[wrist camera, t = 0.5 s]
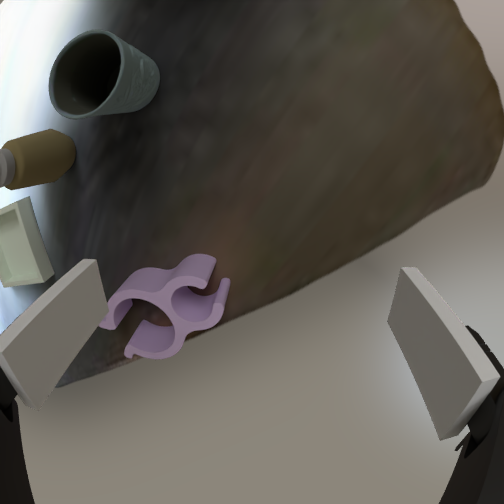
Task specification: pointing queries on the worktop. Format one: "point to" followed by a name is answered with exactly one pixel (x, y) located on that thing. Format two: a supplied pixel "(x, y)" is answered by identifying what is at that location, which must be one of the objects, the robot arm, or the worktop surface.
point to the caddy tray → (22, 246)
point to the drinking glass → (101, 77)
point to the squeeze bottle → (35, 159)
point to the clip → (168, 305)
